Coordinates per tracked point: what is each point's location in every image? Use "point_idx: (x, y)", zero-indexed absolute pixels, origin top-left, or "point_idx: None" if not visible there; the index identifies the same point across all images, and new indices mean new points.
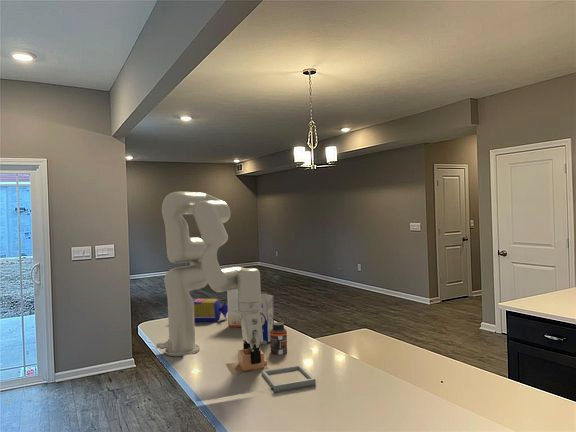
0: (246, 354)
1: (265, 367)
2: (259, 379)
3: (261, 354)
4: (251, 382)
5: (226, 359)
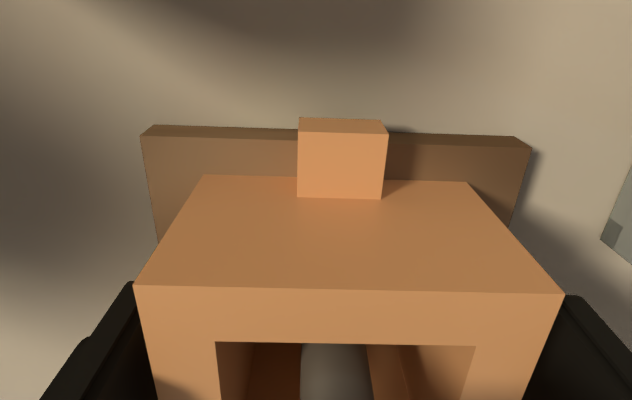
0: (240, 392)
1: (474, 171)
2: (620, 268)
3: (540, 324)
4: (624, 331)
5: (8, 377)
